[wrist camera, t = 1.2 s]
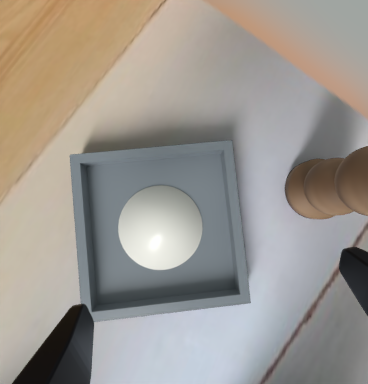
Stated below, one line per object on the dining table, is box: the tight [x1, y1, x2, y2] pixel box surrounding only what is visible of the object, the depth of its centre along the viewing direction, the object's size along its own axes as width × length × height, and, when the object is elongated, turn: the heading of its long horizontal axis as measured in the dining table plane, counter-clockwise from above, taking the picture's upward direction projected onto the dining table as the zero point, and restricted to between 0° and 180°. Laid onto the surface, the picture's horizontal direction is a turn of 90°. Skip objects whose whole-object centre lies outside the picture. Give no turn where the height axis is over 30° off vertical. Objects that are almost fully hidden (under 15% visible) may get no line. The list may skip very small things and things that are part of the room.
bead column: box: [285, 146, 368, 219], centre depth 18 cm, size 6×6×13 cm
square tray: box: [70, 140, 251, 322], centre depth 23 cm, size 14×14×2 cm
